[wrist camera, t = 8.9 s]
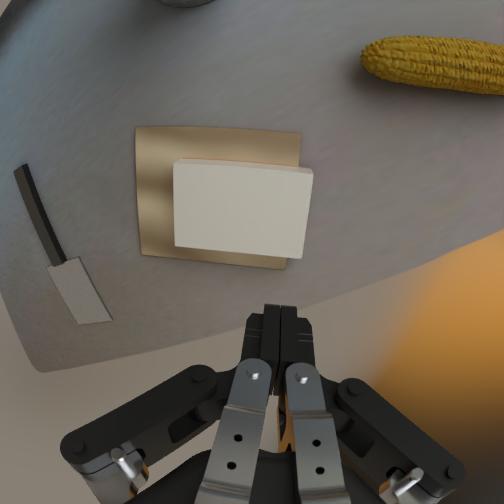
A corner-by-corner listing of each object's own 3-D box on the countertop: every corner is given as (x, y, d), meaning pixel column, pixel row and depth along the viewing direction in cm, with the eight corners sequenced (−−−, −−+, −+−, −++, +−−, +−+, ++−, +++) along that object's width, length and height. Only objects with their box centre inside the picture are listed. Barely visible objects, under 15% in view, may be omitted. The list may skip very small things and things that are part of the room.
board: (137, 126, 28) (135, 127, 27) (301, 134, 27) (301, 134, 26) (143, 252, 34) (141, 254, 34) (285, 267, 33) (285, 269, 33)
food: (511, 51, 19) (543, 50, 14) (519, 97, 21) (551, 102, 16) (349, 41, 22) (365, 27, 17) (361, 97, 25) (381, 95, 20)
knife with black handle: (9, 175, 31) (3, 178, 30) (38, 155, 30) (32, 157, 28) (80, 323, 41) (76, 327, 40) (113, 318, 39) (109, 323, 38)
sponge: (310, 167, 28) (183, 157, 28) (313, 174, 25) (173, 163, 26) (299, 245, 31) (183, 233, 32) (301, 259, 29) (174, 246, 29)
